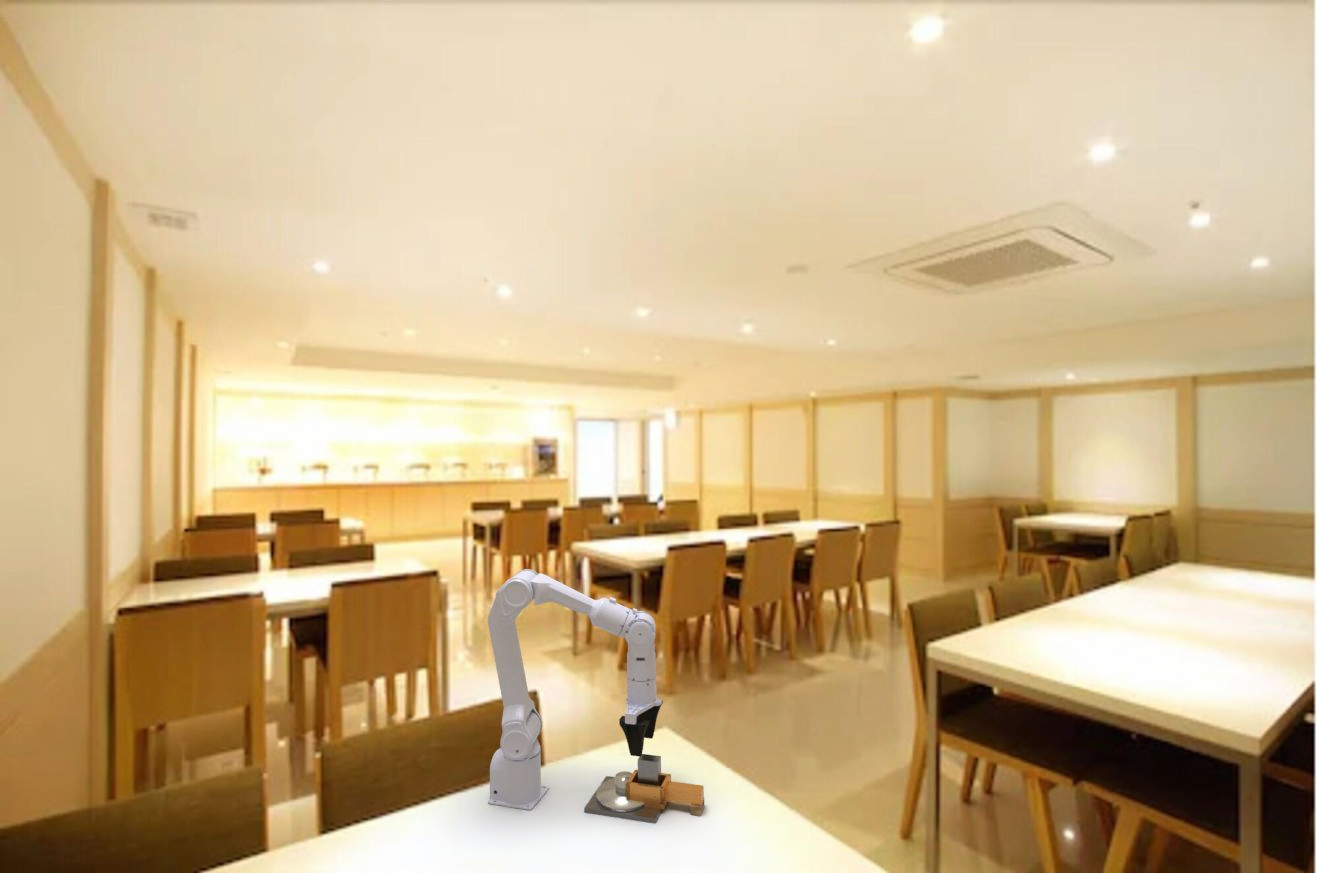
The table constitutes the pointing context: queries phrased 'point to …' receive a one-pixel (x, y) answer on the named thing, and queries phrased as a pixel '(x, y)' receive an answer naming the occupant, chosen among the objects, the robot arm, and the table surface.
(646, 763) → the brushed metal block
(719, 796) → the table surface
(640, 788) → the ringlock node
